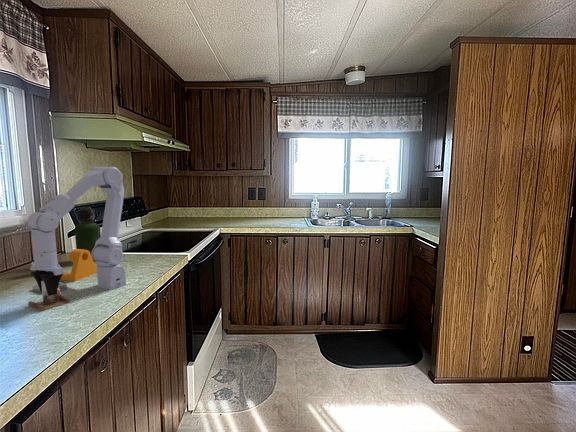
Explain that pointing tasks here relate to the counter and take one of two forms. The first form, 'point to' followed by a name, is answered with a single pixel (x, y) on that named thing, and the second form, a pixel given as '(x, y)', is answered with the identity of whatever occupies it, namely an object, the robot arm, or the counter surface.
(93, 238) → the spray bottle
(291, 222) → the counter surface
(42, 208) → the robot arm
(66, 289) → the socket block
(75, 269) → the bracket
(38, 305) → the brown piece
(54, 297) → the steel round bar
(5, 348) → the counter surface
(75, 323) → the counter surface
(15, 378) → the counter surface
